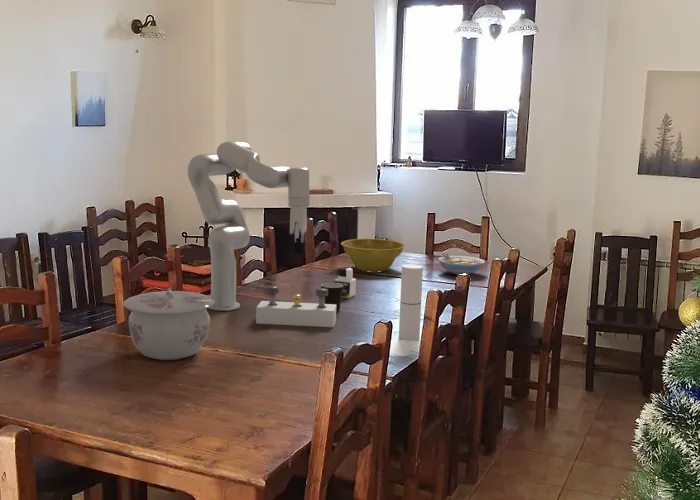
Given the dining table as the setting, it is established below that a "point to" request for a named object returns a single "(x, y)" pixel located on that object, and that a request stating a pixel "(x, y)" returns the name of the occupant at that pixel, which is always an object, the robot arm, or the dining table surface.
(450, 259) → the ramen bowl
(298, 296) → the brass dial
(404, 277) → the cylindrical container
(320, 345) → the dining table surface
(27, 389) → the dining table surface
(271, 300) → the knob
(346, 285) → the medicine bottle
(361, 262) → the planter bowl
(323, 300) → the knob
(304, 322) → the mount
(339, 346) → the dining table surface
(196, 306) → the chamber pot
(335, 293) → the coffee mug
